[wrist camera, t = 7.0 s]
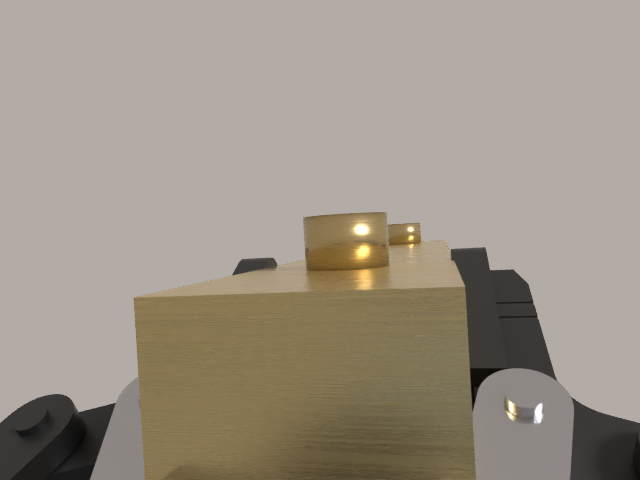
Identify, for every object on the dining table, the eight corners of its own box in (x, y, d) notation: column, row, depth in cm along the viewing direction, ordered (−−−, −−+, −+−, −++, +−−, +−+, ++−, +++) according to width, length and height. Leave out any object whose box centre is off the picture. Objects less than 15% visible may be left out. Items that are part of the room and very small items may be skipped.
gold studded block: (378, 312, 30) (374, 226, 30) (449, 310, 29) (444, 222, 29) (152, 614, 6) (128, 218, 6) (486, 657, 5) (460, 193, 5)
